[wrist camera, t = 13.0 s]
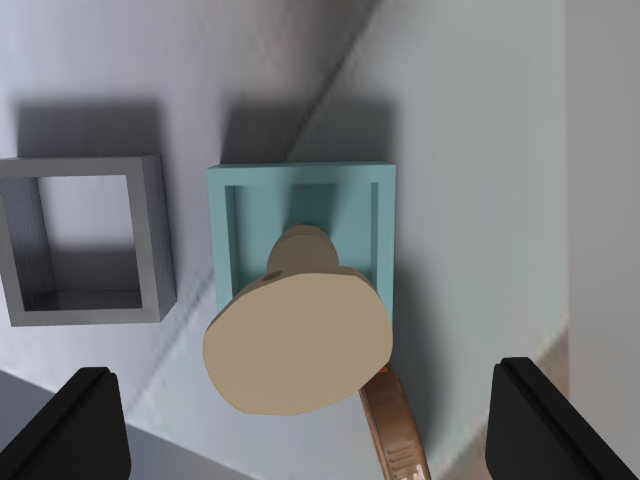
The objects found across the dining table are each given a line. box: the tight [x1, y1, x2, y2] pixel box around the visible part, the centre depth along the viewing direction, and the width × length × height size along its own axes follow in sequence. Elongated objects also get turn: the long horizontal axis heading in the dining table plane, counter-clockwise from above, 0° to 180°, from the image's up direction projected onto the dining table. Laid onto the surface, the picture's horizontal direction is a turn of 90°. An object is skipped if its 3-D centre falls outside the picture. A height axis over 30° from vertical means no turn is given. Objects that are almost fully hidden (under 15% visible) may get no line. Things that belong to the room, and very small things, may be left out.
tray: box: [206, 161, 396, 326], centre depth 28 cm, size 11×11×4 cm
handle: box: [203, 222, 393, 416], centre depth 22 cm, size 5×6×15 cm
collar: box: [0, 154, 177, 327], centre depth 28 cm, size 10×9×4 cm
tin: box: [358, 362, 432, 480], centre depth 30 cm, size 15×3×8 cm, turn 16°
